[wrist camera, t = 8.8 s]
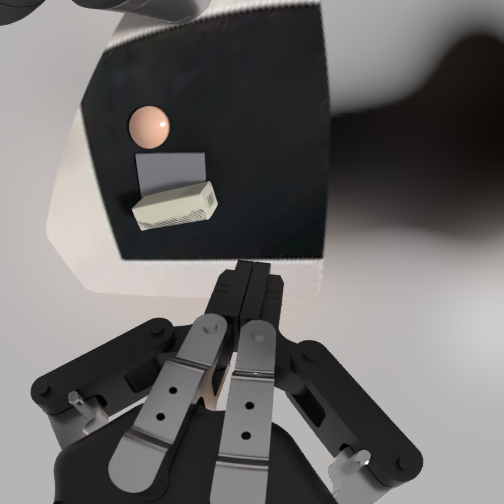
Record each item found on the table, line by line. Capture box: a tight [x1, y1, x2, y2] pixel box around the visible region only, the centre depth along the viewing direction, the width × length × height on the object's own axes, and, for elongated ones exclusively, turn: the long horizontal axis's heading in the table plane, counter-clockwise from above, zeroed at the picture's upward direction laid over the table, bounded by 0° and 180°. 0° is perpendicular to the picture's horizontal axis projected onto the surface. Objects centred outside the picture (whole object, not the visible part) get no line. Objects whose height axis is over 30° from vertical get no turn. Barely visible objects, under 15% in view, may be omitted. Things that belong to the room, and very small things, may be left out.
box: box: [132, 181, 218, 230], centre depth 46 cm, size 5×4×13 cm
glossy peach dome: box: [129, 106, 170, 148], centre depth 42 cm, size 7×7×1 cm
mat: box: [135, 152, 206, 198], centre depth 47 cm, size 11×12×1 cm
